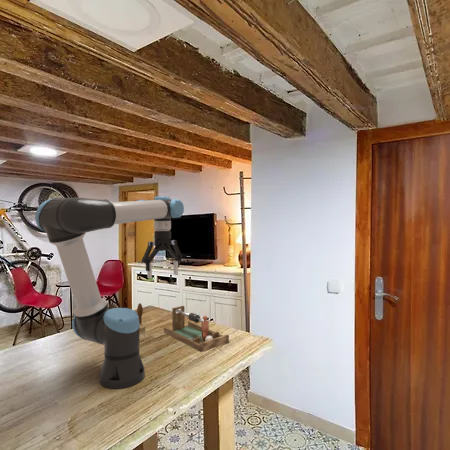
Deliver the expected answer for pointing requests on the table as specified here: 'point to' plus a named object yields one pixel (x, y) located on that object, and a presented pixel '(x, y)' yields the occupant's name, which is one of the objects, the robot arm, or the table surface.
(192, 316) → the kicker
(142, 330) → the hand bell
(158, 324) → the table surface
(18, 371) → the table surface
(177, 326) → the pitch
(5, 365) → the table surface
